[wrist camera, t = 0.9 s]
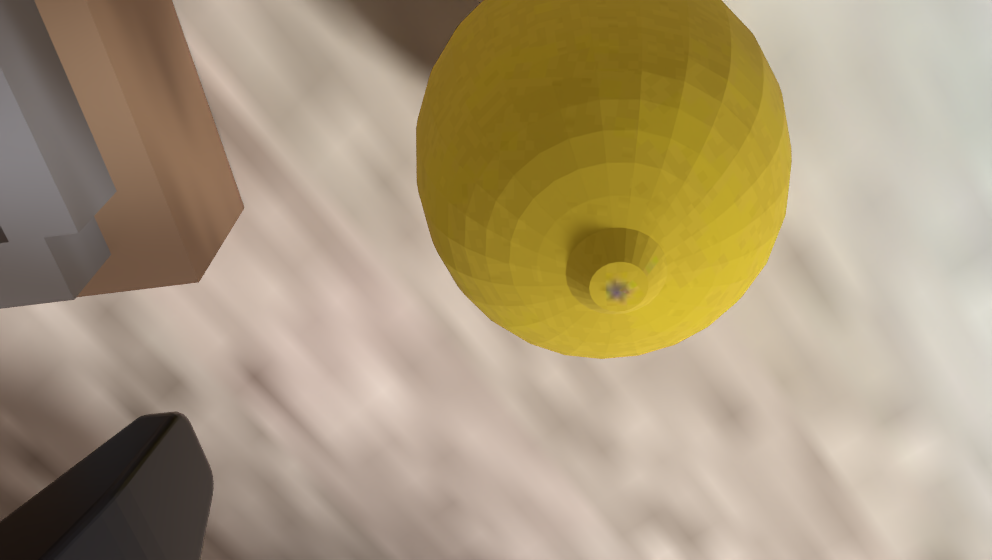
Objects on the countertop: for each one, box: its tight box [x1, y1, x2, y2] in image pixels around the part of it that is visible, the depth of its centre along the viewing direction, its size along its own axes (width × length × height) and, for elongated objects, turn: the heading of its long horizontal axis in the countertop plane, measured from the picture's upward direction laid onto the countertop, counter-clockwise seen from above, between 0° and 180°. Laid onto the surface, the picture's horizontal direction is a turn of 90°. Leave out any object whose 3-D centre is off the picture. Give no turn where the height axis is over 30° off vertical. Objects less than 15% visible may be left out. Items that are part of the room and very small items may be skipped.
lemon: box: [416, 0, 791, 359], centre depth 13 cm, size 6×6×8 cm
